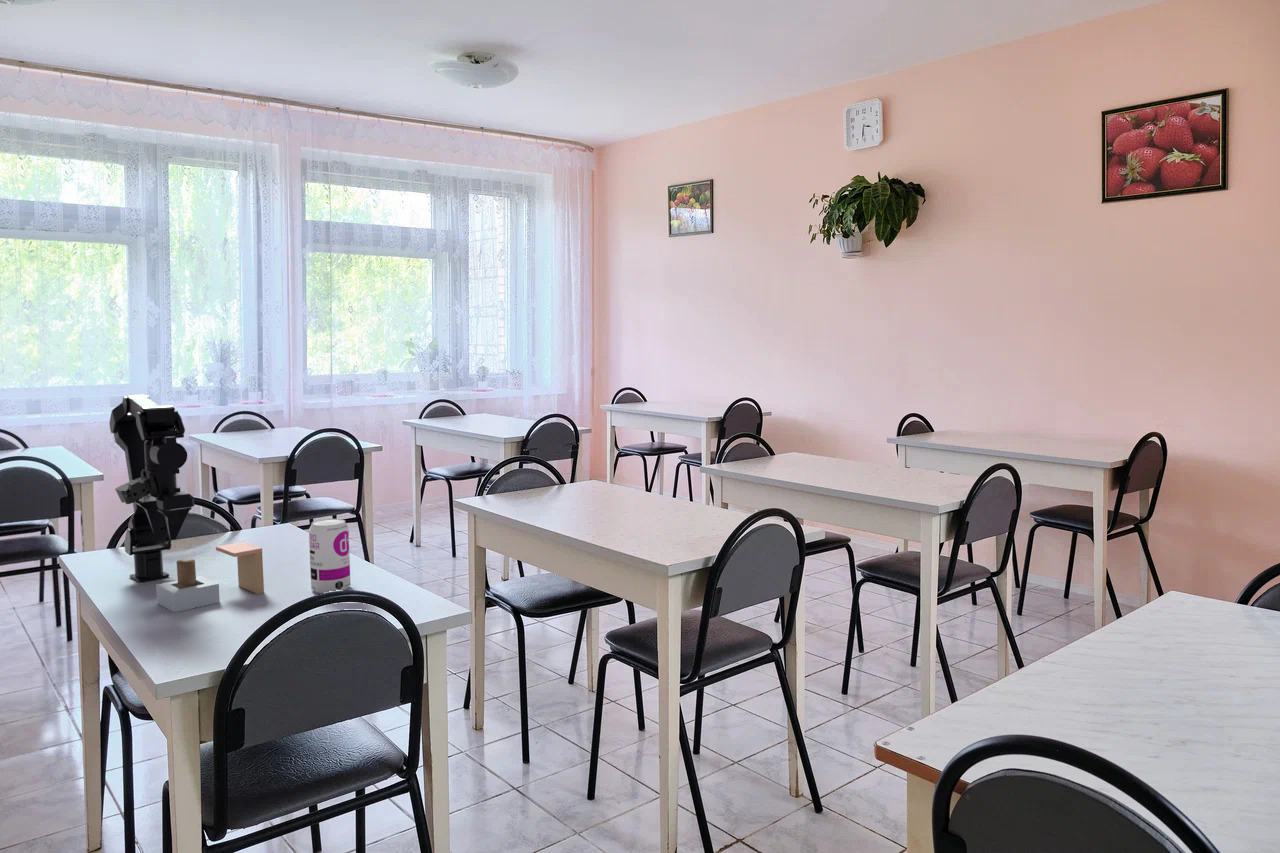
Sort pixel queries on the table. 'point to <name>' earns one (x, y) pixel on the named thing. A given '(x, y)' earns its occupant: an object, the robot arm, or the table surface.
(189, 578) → the peg
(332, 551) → the supplement can
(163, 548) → the robot arm
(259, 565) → the grey and wooden blocks
